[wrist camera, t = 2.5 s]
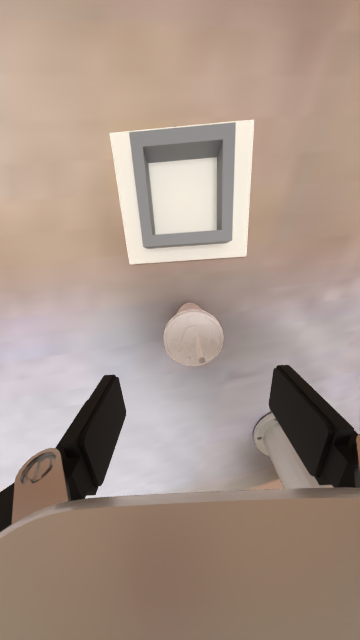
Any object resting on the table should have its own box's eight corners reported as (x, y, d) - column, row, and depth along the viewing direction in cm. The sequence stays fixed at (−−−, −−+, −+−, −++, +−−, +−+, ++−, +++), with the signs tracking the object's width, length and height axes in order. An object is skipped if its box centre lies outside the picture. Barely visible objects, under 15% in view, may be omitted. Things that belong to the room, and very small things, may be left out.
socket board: (250, 126, 19) (267, 93, 16) (243, 256, 24) (255, 255, 20) (112, 139, 20) (96, 110, 16) (131, 264, 24) (122, 264, 21)
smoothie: (218, 312, 27) (254, 361, 13) (191, 340, 28) (199, 409, 15) (187, 285, 25) (194, 310, 12) (161, 316, 27) (140, 368, 14)
